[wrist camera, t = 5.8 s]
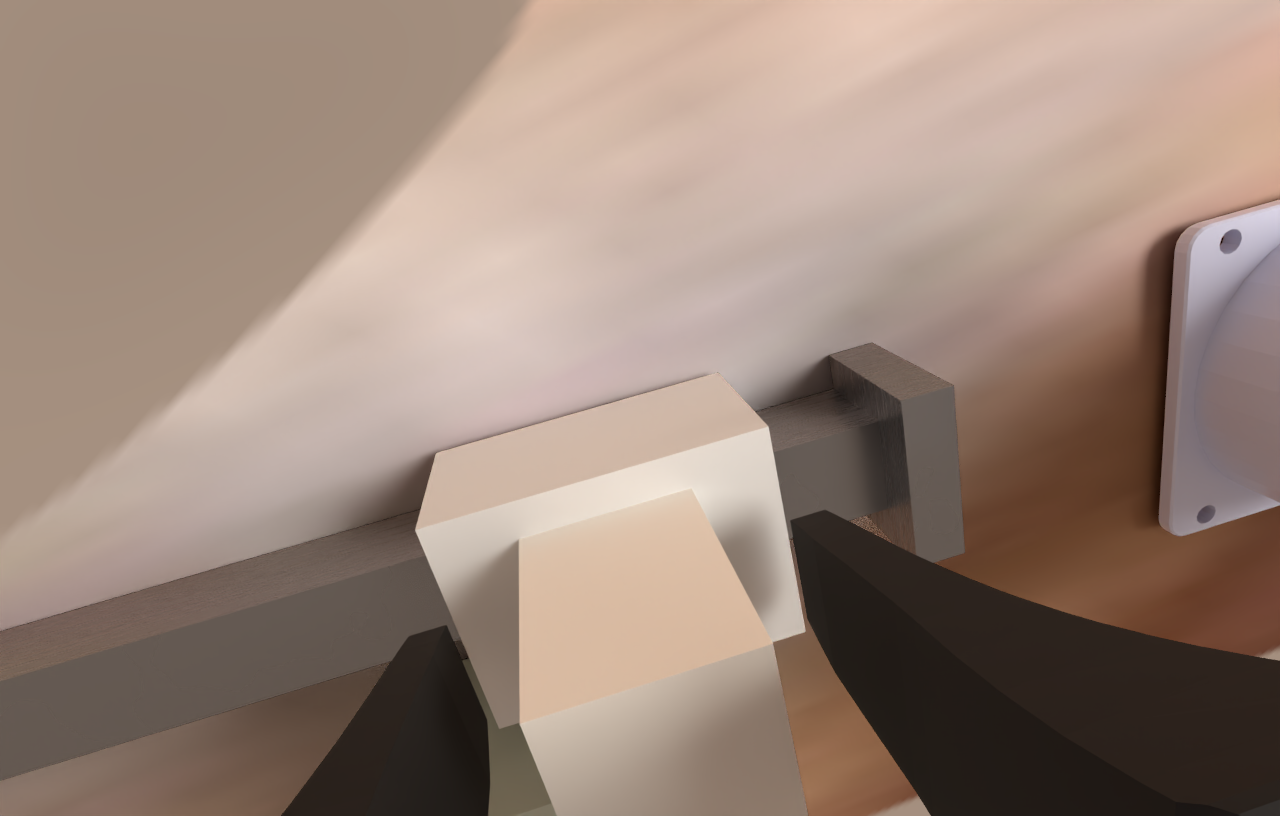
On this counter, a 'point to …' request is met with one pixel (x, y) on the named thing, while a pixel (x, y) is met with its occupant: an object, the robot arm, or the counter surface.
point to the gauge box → (511, 767)
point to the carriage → (629, 600)
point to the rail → (426, 581)
